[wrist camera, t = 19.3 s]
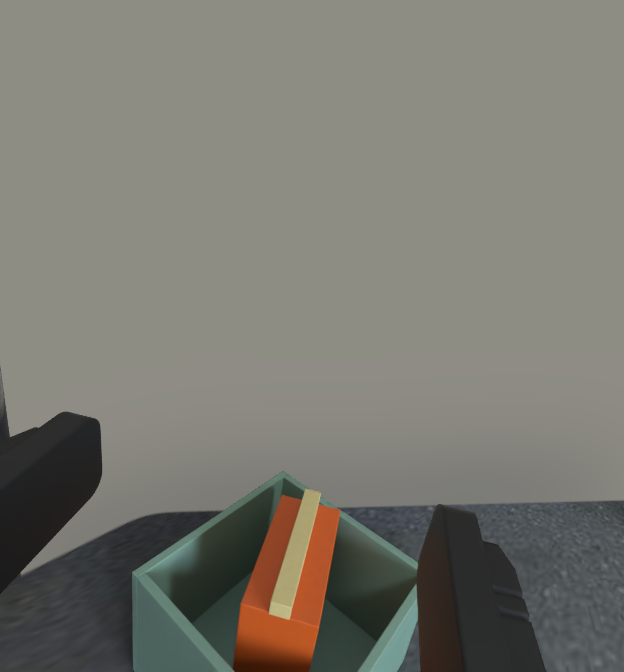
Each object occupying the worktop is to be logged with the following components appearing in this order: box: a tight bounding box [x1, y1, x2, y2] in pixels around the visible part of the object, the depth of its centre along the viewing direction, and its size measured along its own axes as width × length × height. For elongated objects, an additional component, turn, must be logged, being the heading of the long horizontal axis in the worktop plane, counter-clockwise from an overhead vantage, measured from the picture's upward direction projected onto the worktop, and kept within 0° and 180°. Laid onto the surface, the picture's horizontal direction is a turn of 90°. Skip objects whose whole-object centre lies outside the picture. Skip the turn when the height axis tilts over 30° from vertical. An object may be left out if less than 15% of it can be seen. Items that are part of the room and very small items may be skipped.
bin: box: [132, 471, 418, 672], centre depth 30 cm, size 14×14×10 cm
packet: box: [233, 489, 341, 672], centre depth 29 cm, size 4×9×12 cm, turn 169°
